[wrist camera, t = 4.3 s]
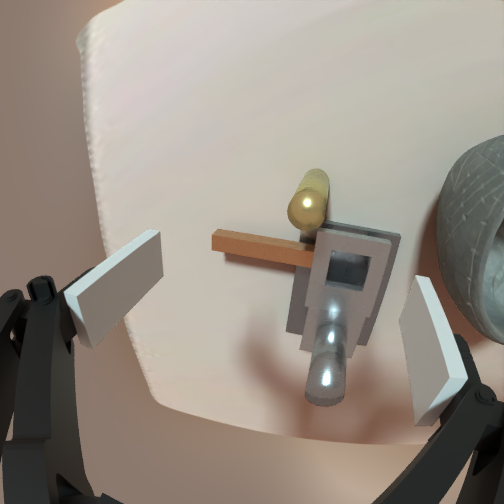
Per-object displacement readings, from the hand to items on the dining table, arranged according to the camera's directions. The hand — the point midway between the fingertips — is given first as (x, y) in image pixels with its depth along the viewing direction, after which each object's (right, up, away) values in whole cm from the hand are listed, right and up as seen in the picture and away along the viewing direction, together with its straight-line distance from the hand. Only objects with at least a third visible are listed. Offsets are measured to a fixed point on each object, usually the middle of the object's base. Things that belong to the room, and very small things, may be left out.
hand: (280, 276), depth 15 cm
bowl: (+28, +6, +14) cm, 32 cm away
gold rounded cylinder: (+6, +9, +19) cm, 22 cm away
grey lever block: (+5, -2, +25) cm, 26 cm away
